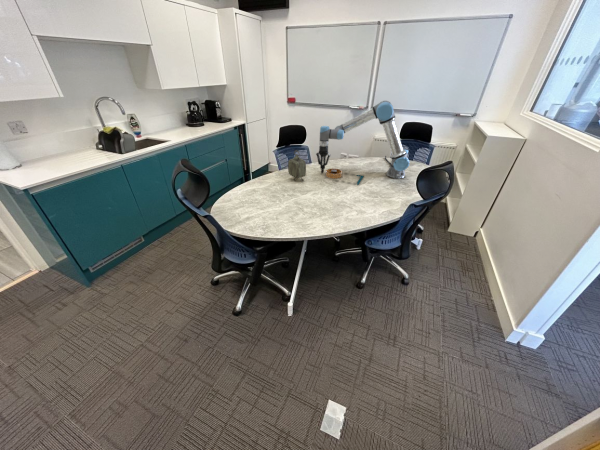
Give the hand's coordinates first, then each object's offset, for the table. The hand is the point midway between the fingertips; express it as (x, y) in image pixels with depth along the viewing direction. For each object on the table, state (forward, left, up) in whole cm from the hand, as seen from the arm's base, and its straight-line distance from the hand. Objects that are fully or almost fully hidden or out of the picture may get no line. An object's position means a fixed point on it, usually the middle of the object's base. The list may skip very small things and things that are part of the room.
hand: (322, 172), depth 220 cm
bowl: (0, +11, -2) cm, 11 cm away
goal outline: (0, +24, -2) cm, 24 cm away
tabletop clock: (+22, -15, -2) cm, 27 cm away
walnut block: (0, +11, -1) cm, 11 cm away
